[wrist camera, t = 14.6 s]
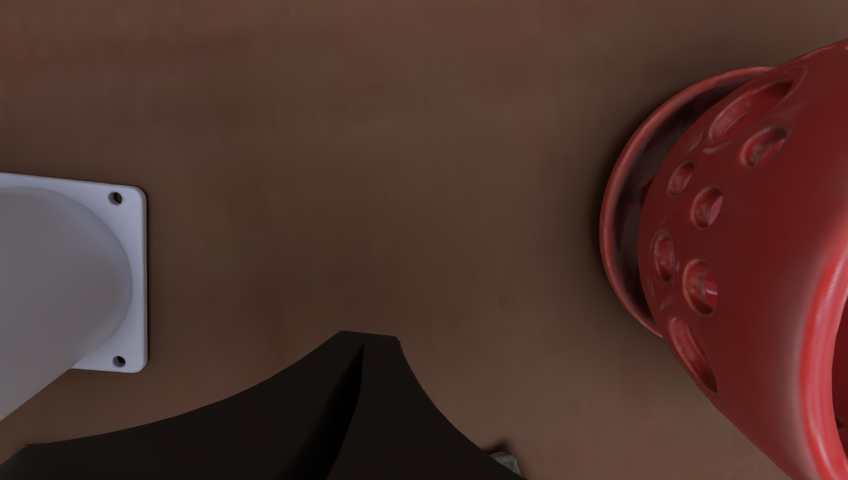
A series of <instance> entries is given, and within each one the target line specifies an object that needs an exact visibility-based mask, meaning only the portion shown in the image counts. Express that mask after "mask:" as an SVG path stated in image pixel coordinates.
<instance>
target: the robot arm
mask: <svg viewBox="0 0 848 480" xmlns="http://www.w3.org/2000/svg"><path fill="white" fill-rule="evenodd" d="M115 192H117V193H119V194H120V195H121V196H122V203H121V204H120V203H117V202H116V201H115V199H114V194H115ZM118 356H121V357H123V358H124V359H125V362H126V363H122V362H120V361H119V360H118ZM147 360H148V353H147V226H146V196H145V194H144V193H143V191H142V190H141V189H139V188H137V187H134V186H126V185H117V184H108V183H98V182H89V181H80V180H70V179H61V178H52V177H42V176H33V175H24V174H14V173H5V172H0V421H1V420H2V419H4V418H5V417H6V416H8V415H9V414H10V413H12V412H13V411H14V410H16V409H17V408H18V407H20V406H21V405H22V404H24V403H25V402H26V401H27V400H29V399H30V398H31V397H33V396H34V395H35V394H37V393H38V392H39V391H41V390H42V389H43V388H45V387H46V386H47V385H49V384H50V383H51V382H53V381H54V380H55V379H56V378H58V377H59V376H60V375H62V374H63V373H64V372H66V371H67V370H68V369H70V368H75V369H88V370H101V371H114V372H128V373H135V372H138V371H140V370H142V369H143V368H144V366H145V365H146V364H147ZM0 480H526V479H525V478H523V477H521V476H520V475H518V474H516V473H515V472H513V471H512V470H510V469H509V468H507V467H506V466H504V465H503V464H501V463H499V462H498V461H496V460H495V459H494V458H492V457H491V456H489V455H488V454H487V453H485V452H484V451H483V450H481V449H480V448H479V447H477V446H476V445H475V444H474V443H473V442H471V441H470V440H469V439H468V438H467V437H465V436H464V435H463V434H462V433H461V432H460V431H459V430H458V429H456V428H455V427H454V426H453V425H452V424H451V423H450V422H449V421H448V420H447V419H446V417H445V416H444V415H443V414H442V413H441V412H440V411H439V410H438V409H437V408H436V406H435V405H434V404H433V402H432V401H431V400H430V398H429V397H428V395H427V394H426V393H425V391H424V390H423V388H422V387H421V385H420V384H419V382H418V380H417V379H416V377H415V375H414V373H413V372H412V370H411V368H410V366H409V364H408V362H407V360H406V358H405V356H404V353H403V351H402V348H401V345H400V341H399V340H398V339H397V337H394V336H386V335H377V334H368V333H359V332H350V331H340V332H338V333H337V334H335V335H334V336H333V337H331V338H330V339H328V340H327V341H326V342H324V343H323V344H322V345H320V346H319V347H318V348H316V349H315V350H313V351H312V352H310V353H309V354H308V355H306V356H305V357H303V358H302V359H300V360H299V361H297V362H296V363H294V364H292V365H291V366H289V367H287V368H286V369H284V370H282V371H281V372H279V373H277V374H276V375H274V376H272V377H270V378H269V379H267V380H265V381H263V382H261V383H259V384H257V385H255V386H253V387H251V388H249V389H247V390H244V391H242V392H240V393H238V394H235V395H233V396H231V397H229V398H226V399H224V400H221V401H218V402H215V403H213V404H210V405H207V406H204V407H201V408H198V409H195V410H193V411H190V412H187V413H184V414H181V415H178V416H175V417H171V418H168V419H164V420H160V421H157V422H153V423H149V424H145V425H141V426H137V427H133V428H128V429H124V430H120V431H115V432H110V433H106V434H101V435H95V436H89V437H83V438H77V439H71V440H65V441H59V442H53V443H47V444H41V445H33V446H26V447H23V448H22V449H20V450H19V451H18V452H16V453H15V454H14V455H13V456H11V457H10V458H9V459H8V460H6V461H5V462H4V463H3V464H1V465H0Z"/></svg>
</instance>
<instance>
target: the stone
mask: <svg viewBox="0 0 848 480" xmlns="http://www.w3.org/2000/svg"><path fill="white" fill-rule="evenodd" d="M489 456H491V457H492V458H494V459H495V460H496V461H498V462H499V463H501V464H503V465H504V466H506V467H507V468H509V469H510V470H512V471H513V472H515V473H516V474H518V475H520V476H521V477H522V475H521V474H520V471H519V468H518V466H517V459H516V456H515V455H514V454H508V453H506V452H497V453H493V454H490V455H489Z"/></svg>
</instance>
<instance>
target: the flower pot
mask: <svg viewBox="0 0 848 480" xmlns="http://www.w3.org/2000/svg"><path fill="white" fill-rule="evenodd" d="M599 242H600V252H601V258H602V262H603V266H604V269H605V272H606V275H607V278H608V281H609V283H610V285H611V287H612V289H613V291H614V292H615V294H616V296H617V297H618V299H619V300H620V302H621V303H622V304H623V306H624V307H625V308H626V309H627V310H628V312H629V313H630V314H631V315H632V316H633V317H634V318H635V319H636V320H637V321H638V322H639V323H640V324H641V325H643V326H644V327H645V328H647V329H648V330H649V331H651V332H652V333H654V334H656V335H657V336H659V337H661V338H663V339H664V340H665V342H666V343H667V345H668V347H669V348H670V350H671V351H672V353H673V354H674V356H675V357H676V359H677V360H678V361H679V362H680V364H681V365H682V366H683V368H684V369H685V370H686V372H687V373H688V374H689V376H690V377H691V378H692V379H693V381H694V382H695V383H696V385H697V386H698V387H699V388H700V390H701V391H702V392H703V393H704V394H705V395H706V397H707V398H708V399H709V400H710V401H711V402H712V403H713V405H714V406H715V407H716V408H717V409H718V410H719V411H720V412H721V413H722V414H723V415H724V416H726V417H727V418H728V419H729V420H730V421H731V422H732V423H733V424H734V425H735V426H736V427H737V428H738V429H739V430H740V431H741V432H742V433H743V434H744V435H745V436H746V437H747V438H748V439H749V440H750V441H751V442H752V443H753V444H754V445H755V446H757V447H758V448H759V449H760V450H761V451H762V452H763V453H764V454H765V455H766V456H767V457H768V458H770V459H771V460H772V461H773V462H774V463H775V464H776V465H777V466H778V467H779V468H780V469H781V470H782V471H784V472H785V473H786V474H787V475H788V476H789V477H791V478H792V479H793V480H848V39H845V40H842V41H839V42H836V43H833V44H830V45H827V46H825V47H822V48H819V49H817V50H814V51H811V52H809V53H806V54H803V55H801V56H799V57H796V58H794V59H792V60H790V61H787V62H785V63H783V64H781V65H779V66H777V67H774V66H755V67H745V68H740V69H734V70H730V71H726V72H723V73H719V74H717V75H714V76H711V77H708V78H706V79H704V80H701V81H699V82H697V83H695V84H693V85H691V86H689V87H687V88H686V89H684V90H682V91H681V92H679V93H677V94H676V95H674V96H673V97H671V98H670V99H669V100H667V101H666V102H665V103H663V104H662V105H661V106H660V107H658V108H657V109H656V110H655V111H654V112H653V113H652V114H651V115H650V116H649V117H648V118H647V119H646V120H645V121H644V122H643V123H642V124H641V125H640V126H639V127H638V128H637V130H636V131H635V132H634V134H633V135H632V136H631V138H630V139H629V141H628V142H627V144H626V145H625V147H624V149H623V150H622V152H621V154H620V156H619V158H618V160H617V162H616V164H615V166H614V168H613V170H612V173H611V175H610V178H609V181H608V183H607V186H606V189H605V193H604V197H603V201H602V206H601V212H600V222H599Z"/></svg>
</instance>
